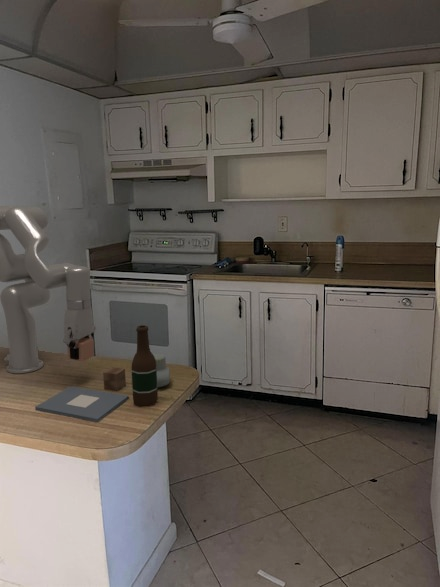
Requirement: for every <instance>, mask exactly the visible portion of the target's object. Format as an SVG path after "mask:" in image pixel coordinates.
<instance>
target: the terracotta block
mask: <svg viewBox="0 0 440 587" xmlns="http://www.w3.org/2000/svg"><path fill="white" fill-rule="evenodd" d="M73 343H75V341H74V340H73ZM94 345H95V341H94V338H92V339H91V338H85V337H83V338H81V339H79V341H78V346H77V348H79V359H78V360H75V359H71V358H70V348H69V347H68V346H67V345H66V346H67V347H66V348H67V359H68V360H72V361H77V362H78V361H79V362H84V361H87V360H89V359H91V358H93V357H94V356H95V346H94Z"/></svg>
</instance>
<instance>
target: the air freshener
mask: <svg viewBox="0 0 440 587" xmlns="http://www.w3.org/2000/svg"><path fill="white" fill-rule="evenodd" d="M152 354H153V355H154V357H155V360H156V369H157V389H158V388H162V387H166V386H167V385H169V384H170V383H171V376H170V375H171V374H170V373H171V372H170V369H171V368H170V367H168V366H167V365H166V355H165V354H163V353H152Z"/></svg>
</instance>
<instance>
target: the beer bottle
mask: <svg viewBox="0 0 440 587" xmlns="http://www.w3.org/2000/svg"><path fill="white" fill-rule="evenodd" d="M135 331H136V333H137V334H136V351H135V354H134V356H133V358H132V362H131V386H132V400H133V401H132V402H133V404H134V405H136V406H138V407H140V408H141V407H144V408H145V407H151V406H153V405H155V404H157V402H158V388H157V369H156V360H155V357H154V355H153V354H154V353H152V352H151V348H150V340H149V326H147V325H138V326H136V329H135Z"/></svg>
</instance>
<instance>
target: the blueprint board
mask: <svg viewBox="0 0 440 587" xmlns="http://www.w3.org/2000/svg"><path fill="white" fill-rule="evenodd" d="M129 397H130V396H129V395H126V394H121V393H113V392H109V391H104V390H103V391H102V390H96V389H91V388H83V387H79V386H74V385H73V386H72V385H70V386H68V387H67V388H65V389H63V390H62V391H60V392H58V393H57V394H55V395H53V396H50V398H47V399H46V400H44V401H43V402H41V403H39V404H37V405H36V406H35V407H34V409H35V411H40V412H43V413H49V414H54V415H59V416H65V417H69V418H74V419H79V420H85V421H89V422H94V423H99V422H100V421H101V420H103V419H104V418H106V417H107V416H108V415H110V413H112V412H113V411H116V409H117V408H118V407H120V406H122V405H123V404H124V403H125V402H127V401H128V400H129V399H130V398H129Z"/></svg>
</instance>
